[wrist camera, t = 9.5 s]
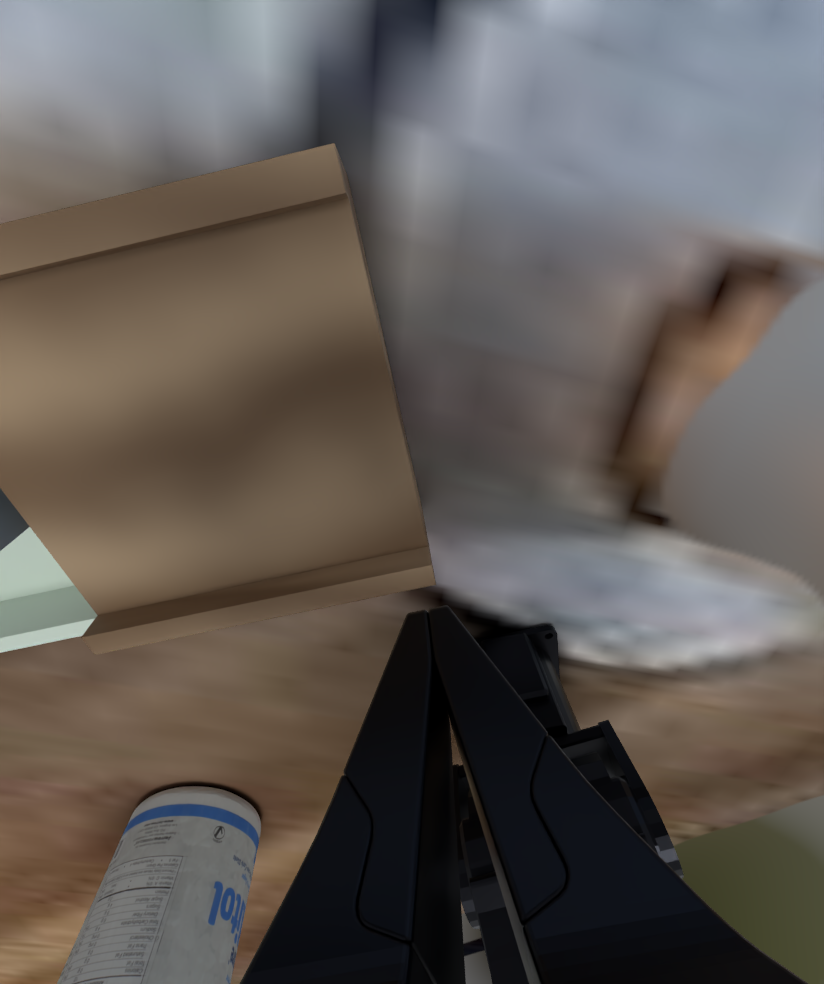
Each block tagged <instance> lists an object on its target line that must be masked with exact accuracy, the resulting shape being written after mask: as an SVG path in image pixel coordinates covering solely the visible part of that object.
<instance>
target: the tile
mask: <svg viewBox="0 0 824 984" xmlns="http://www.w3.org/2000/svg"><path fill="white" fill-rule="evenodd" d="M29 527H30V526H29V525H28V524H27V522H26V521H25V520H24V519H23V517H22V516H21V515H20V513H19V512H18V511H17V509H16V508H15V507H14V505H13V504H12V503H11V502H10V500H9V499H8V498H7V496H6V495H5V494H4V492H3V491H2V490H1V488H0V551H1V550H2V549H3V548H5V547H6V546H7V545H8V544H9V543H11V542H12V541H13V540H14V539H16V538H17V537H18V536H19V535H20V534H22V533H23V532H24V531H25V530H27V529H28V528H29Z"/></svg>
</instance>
